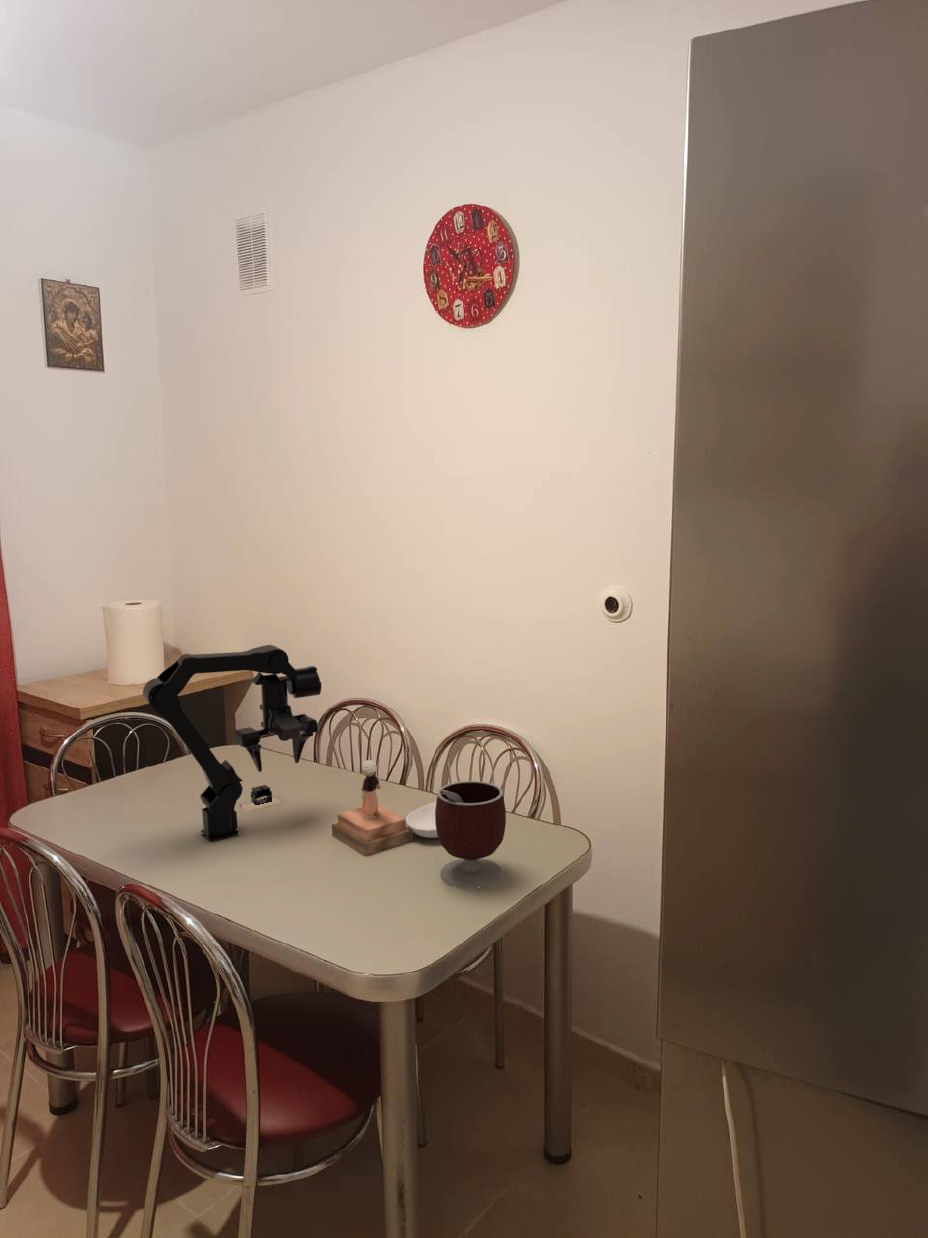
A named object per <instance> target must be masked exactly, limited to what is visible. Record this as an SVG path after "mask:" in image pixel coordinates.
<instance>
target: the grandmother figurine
mask: <svg viewBox="0 0 928 1238" xmlns="http://www.w3.org/2000/svg"><path fill="white" fill-rule="evenodd" d="M361 769H362V773H363V775H364V776H365V778H364V780H363V782H362V783H363V784H362V787H361V796H360V798H361V799H362V803H361V804H362V805H361V807H362V813H365V814H364V816H363V818H364V819H375V818H376V817H375V816H377V815H379V814H380V813H379V812H378V811H377V810H378V804H379V801H378V800H379V799H378V796H377V792H376V790H381V784H380V781H379V779H378V777H377V776H376V774H375V773H376V772H377V770H378V767H377V764H376V763H375V762H374V761H373V760H371V759H369V760H368V759H367V760H365V761H364V762H362V765H361Z"/></svg>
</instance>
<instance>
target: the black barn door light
mask: <svg viewBox="0 0 928 1238" xmlns="http://www.w3.org/2000/svg"><path fill="white" fill-rule="evenodd" d="M272 795H273V793H272V790H271V787H270V786H268V785H267V784H263V785H259V786H254V787H251V791H250V797H251V799H250V802H253V803H254V804H255V805H260V804H264V803H268V802H272V797H273V796H272Z"/></svg>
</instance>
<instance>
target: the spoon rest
mask: <svg viewBox="0 0 928 1238" xmlns="http://www.w3.org/2000/svg"><path fill="white" fill-rule="evenodd" d="M436 801H437V800H435V801H432V802H430V803H428V804H426V805H424V806H420V807H418V808H417V809H414V810H413V811H411V812H410V813H409V814H407V816H406V817H405V819H406V827H408V828H410V829H411V830H412V833H414V834H416V835H417V836H419V837H422V838H425V839H438V835H437V830H436V824H435V809H436Z"/></svg>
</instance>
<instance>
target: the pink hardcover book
mask: <svg viewBox="0 0 928 1238" xmlns="http://www.w3.org/2000/svg"><path fill="white" fill-rule="evenodd" d="M377 811H378V812H379V813H380V814H379V815H377V816H375V817H376V818H375V819H364V818H363V816H364V814H365V813H362V806H361V807H358V808H354V809H351V810H348V811H344V812H340V813H337V822H336V823H333V824H331V834H332V837H334V838H336V839H337V840H339V841H341V842H343V844H346V845H347V846H348V847H350V848H352V849H353V850H355V851H357V852H358V853H359V854H361V855H363V856H364V857H367V856H370V855H373V854H374V855H375V854H376V853H379V852H382V851H386V850H388V849H389V850H390V849H392V848H395V847H398V846H400V845H405V844H407V843H411V842H413V841H414V840H413V831H412V830H411V829H410V828H409V827H408V826H407V824H406V817H404V816H401V815H399V814H398V813H396V812H393V811H392V810H389V809H388V808H386V807H384V806H382V805H380V804H379V803H378V810H377Z"/></svg>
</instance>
